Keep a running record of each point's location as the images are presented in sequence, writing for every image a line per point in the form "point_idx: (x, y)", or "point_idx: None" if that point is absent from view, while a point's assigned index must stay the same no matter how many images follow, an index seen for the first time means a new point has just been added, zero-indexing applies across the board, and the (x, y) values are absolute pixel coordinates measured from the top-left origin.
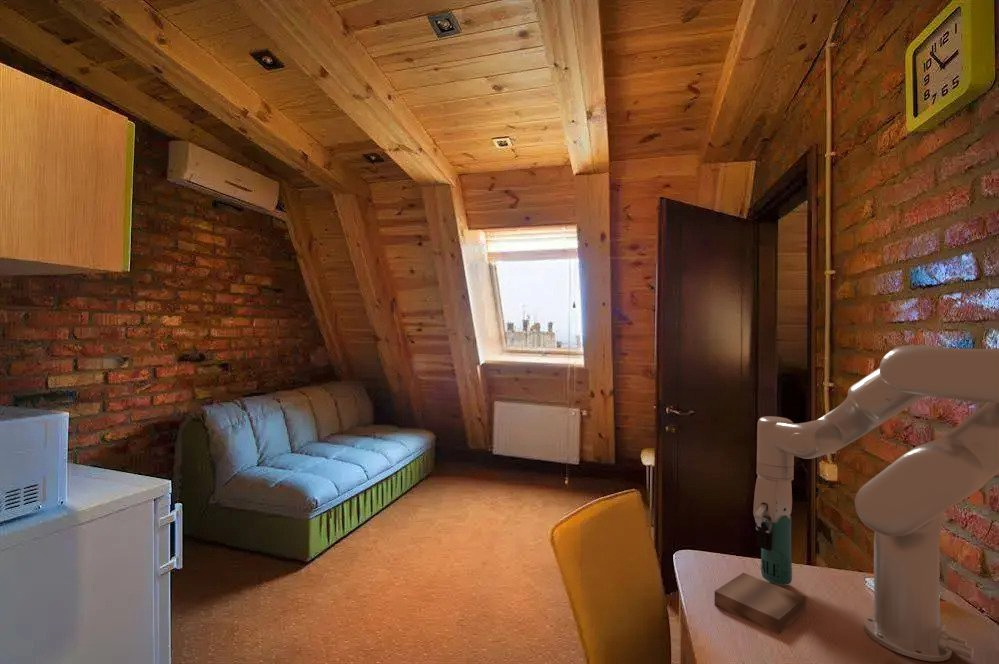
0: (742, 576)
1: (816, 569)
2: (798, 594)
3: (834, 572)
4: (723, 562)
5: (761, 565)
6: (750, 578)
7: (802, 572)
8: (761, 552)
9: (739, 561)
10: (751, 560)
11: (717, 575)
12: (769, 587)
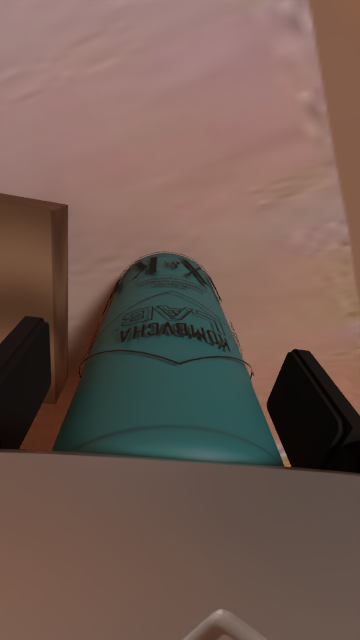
0: (11, 218)
1: (349, 350)
2: (53, 389)
3: (352, 384)
4: (219, 51)
5: (146, 265)
6: (24, 250)
7: (305, 327)
8: (137, 287)
9: (276, 120)
10: (314, 164)
11: (63, 76)
12: (17, 320)
